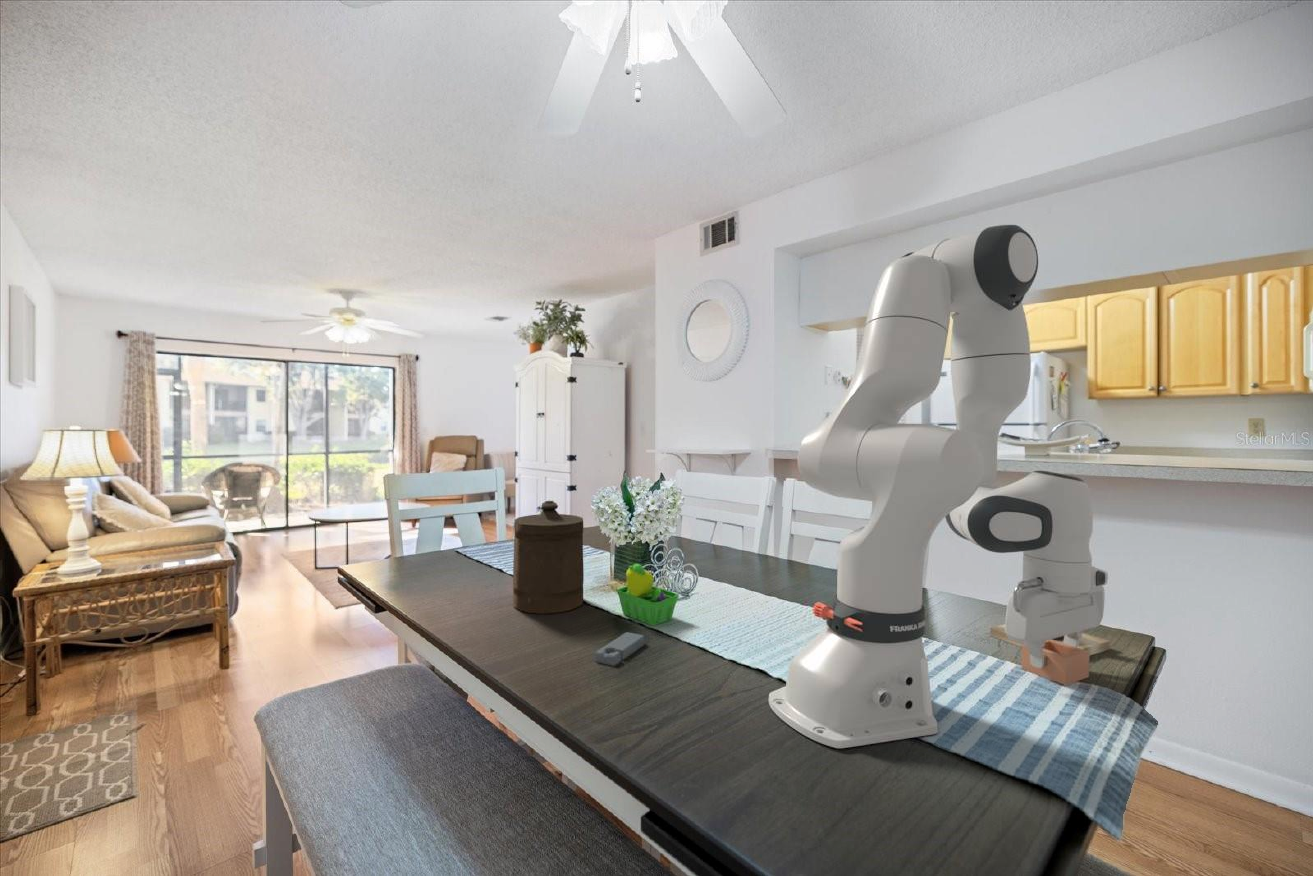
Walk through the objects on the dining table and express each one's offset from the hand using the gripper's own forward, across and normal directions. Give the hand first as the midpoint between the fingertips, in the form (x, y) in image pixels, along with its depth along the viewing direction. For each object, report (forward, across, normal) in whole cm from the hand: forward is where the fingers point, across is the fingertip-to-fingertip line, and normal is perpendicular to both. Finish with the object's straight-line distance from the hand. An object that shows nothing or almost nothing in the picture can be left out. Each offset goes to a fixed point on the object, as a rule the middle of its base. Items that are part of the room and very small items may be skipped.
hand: (1053, 661), depth 90 cm
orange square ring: (+2, 0, 0) cm, 2 cm away
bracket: (+2, -59, +36) cm, 69 cm away
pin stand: (+2, +12, +8) cm, 15 cm away
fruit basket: (+2, -48, +50) cm, 69 cm away
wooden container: (+2, -63, +67) cm, 92 cm away
